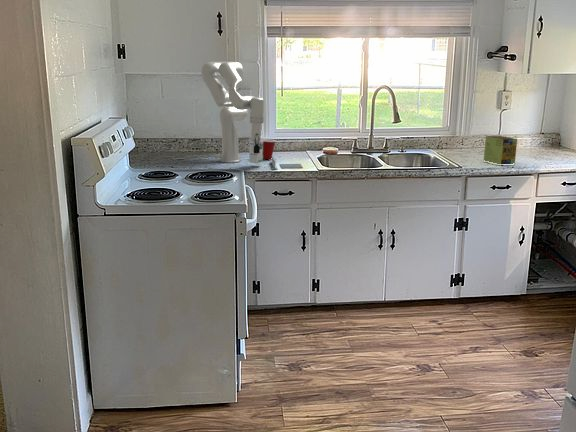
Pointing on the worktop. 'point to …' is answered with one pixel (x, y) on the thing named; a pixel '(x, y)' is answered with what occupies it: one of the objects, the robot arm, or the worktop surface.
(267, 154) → the plastic cup
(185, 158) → the worktop surface
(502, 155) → the protein box
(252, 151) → the syrup box
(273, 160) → the acrylic divider
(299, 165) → the slate mat
